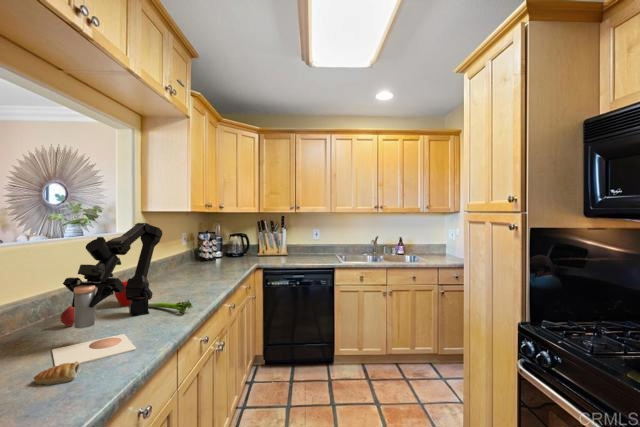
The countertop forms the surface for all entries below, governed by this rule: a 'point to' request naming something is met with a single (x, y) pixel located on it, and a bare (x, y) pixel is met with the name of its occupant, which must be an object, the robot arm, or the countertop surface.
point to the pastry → (58, 374)
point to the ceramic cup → (123, 297)
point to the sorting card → (93, 350)
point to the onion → (68, 316)
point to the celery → (172, 305)
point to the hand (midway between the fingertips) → (81, 307)
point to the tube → (84, 306)
